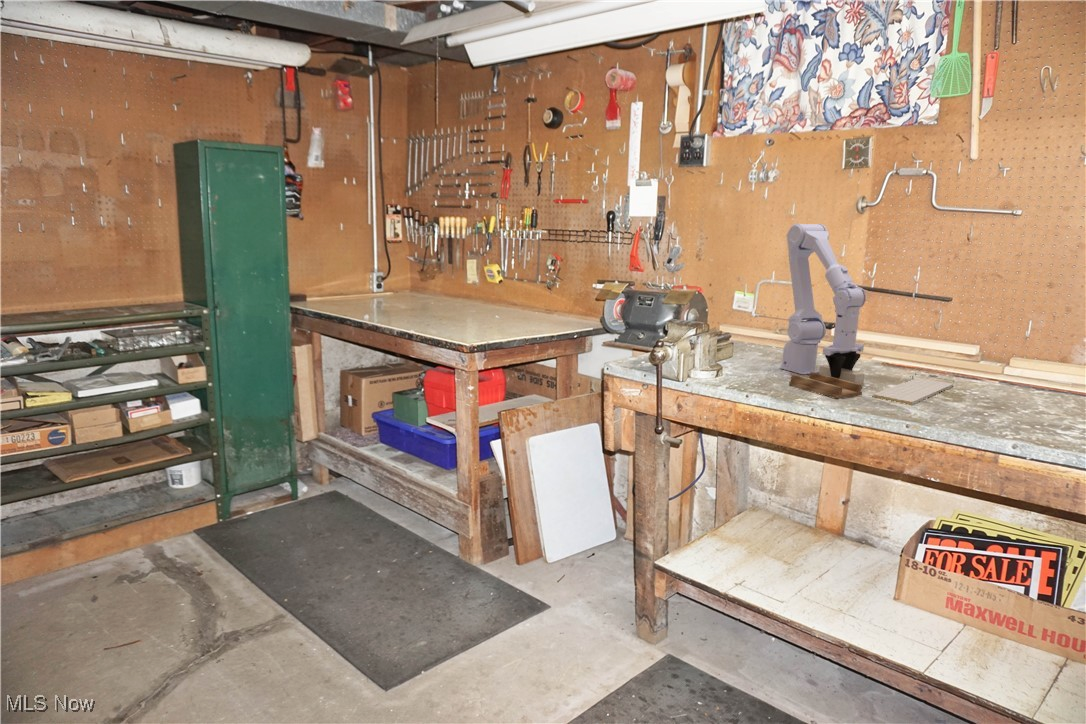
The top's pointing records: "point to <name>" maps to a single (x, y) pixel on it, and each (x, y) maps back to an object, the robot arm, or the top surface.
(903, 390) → the baseboard
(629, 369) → the top surface
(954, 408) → the top surface
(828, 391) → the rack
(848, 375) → the beige rectangular block
